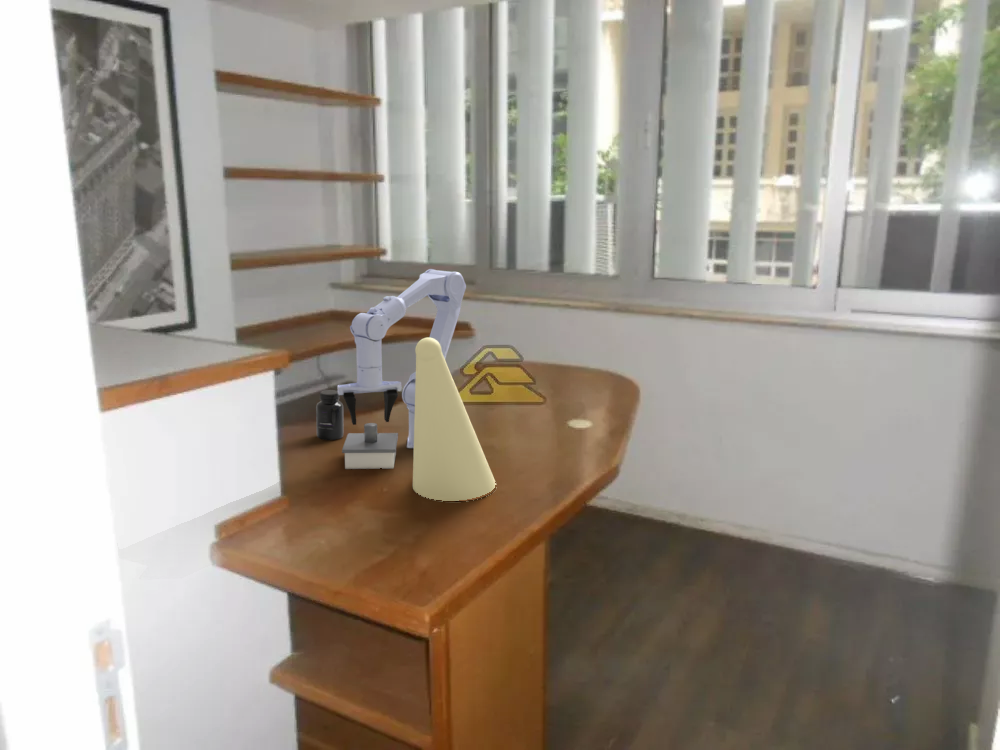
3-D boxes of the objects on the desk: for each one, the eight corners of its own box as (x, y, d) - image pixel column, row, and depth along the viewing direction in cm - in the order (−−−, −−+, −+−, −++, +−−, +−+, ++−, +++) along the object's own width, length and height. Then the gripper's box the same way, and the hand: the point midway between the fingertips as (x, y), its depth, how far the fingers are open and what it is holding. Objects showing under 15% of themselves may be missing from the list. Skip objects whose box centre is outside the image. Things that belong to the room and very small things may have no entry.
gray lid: (398, 436, 184) (397, 417, 183) (395, 452, 172) (395, 432, 171) (348, 436, 183) (347, 417, 182) (342, 453, 171) (341, 432, 170)
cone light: (435, 465, 176) (435, 317, 168) (508, 477, 169) (512, 324, 161) (381, 504, 154) (378, 335, 145) (463, 519, 147) (465, 344, 139)
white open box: (396, 452, 184) (395, 436, 183) (393, 468, 174) (393, 451, 173) (350, 452, 183) (350, 437, 182) (345, 468, 173) (344, 452, 172)
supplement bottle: (320, 442, 190) (319, 396, 188) (314, 434, 196) (312, 390, 193) (347, 438, 194) (346, 393, 191) (339, 431, 199) (338, 387, 197)
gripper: (396, 360, 179) (397, 415, 182) (335, 363, 174) (336, 419, 177) (403, 366, 173) (403, 423, 176) (339, 370, 168) (341, 428, 171)
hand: (370, 422), depth 176 cm, fingers open, 7 cm apart
